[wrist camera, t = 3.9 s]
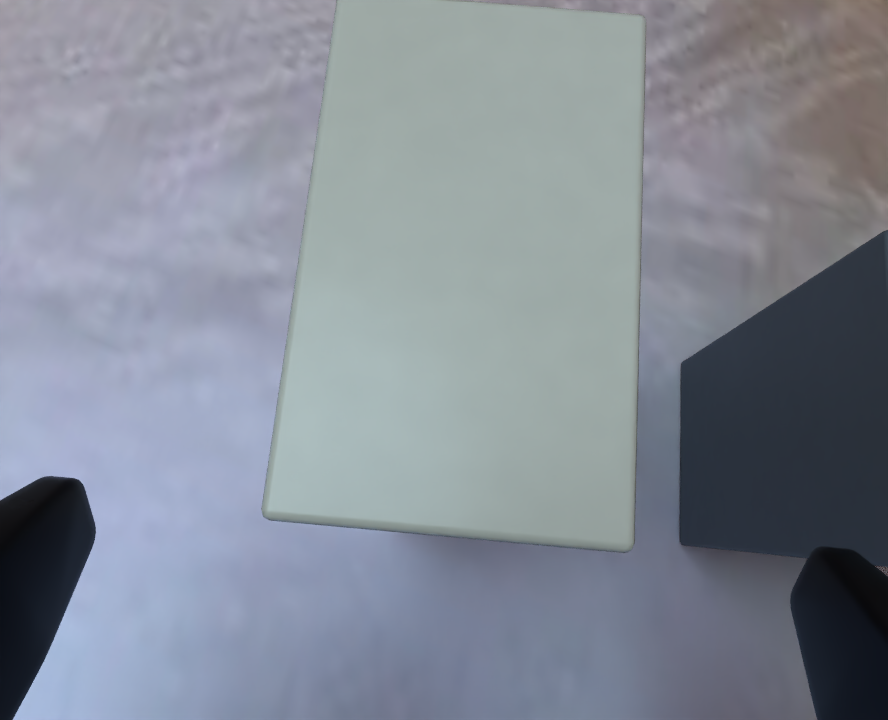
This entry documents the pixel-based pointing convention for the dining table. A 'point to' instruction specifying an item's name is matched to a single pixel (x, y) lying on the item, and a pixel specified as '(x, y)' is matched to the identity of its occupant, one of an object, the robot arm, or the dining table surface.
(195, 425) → the dining table surface
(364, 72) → the pale green rectangular slab
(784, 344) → the grey blocks
